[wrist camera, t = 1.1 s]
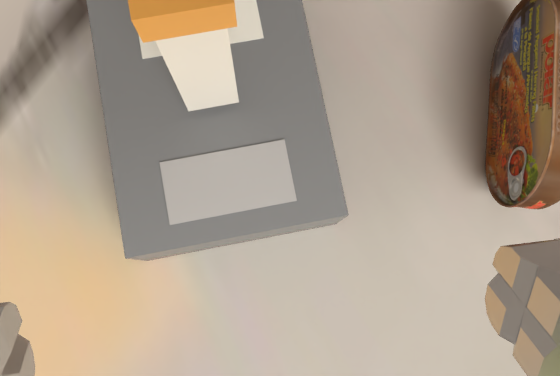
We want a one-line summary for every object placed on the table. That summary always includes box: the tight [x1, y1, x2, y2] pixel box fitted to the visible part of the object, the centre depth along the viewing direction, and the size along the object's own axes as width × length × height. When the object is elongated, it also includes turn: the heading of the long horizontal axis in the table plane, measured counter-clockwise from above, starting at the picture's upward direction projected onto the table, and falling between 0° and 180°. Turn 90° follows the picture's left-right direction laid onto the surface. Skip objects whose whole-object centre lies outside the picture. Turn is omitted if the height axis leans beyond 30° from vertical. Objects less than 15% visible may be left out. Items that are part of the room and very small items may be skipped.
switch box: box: [87, 0, 348, 261], centre depth 37 cm, size 18×14×6 cm
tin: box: [486, 0, 560, 209], centre depth 37 cm, size 15×3×8 cm, turn 173°
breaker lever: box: [128, 0, 239, 111], centre depth 27 cm, size 2×4×13 cm, turn 101°
